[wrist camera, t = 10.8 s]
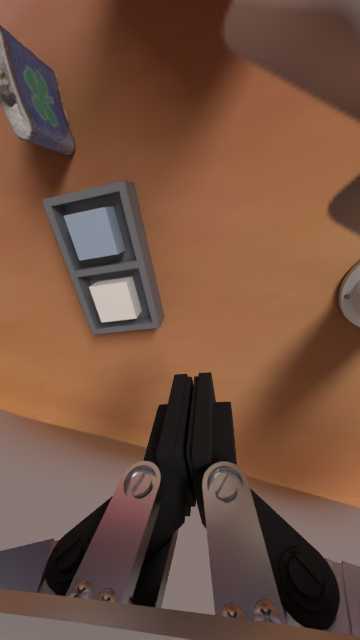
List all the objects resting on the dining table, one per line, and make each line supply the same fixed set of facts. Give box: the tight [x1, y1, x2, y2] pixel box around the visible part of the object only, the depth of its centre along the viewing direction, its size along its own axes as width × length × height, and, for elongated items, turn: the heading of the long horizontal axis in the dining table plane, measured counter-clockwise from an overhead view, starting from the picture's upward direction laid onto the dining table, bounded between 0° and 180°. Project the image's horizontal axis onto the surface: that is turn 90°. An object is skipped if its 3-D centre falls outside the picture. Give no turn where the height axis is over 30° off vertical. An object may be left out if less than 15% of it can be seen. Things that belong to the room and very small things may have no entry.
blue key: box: [64, 207, 125, 261], centre depth 34 cm, size 6×6×3 cm
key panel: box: [42, 180, 164, 335], centre depth 37 cm, size 12×21×4 cm, turn 10°
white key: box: [89, 276, 142, 323], centre depth 38 cm, size 6×6×3 cm
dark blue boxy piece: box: [0, 25, 75, 155], centre depth 27 cm, size 9×3×11 cm, turn 8°
